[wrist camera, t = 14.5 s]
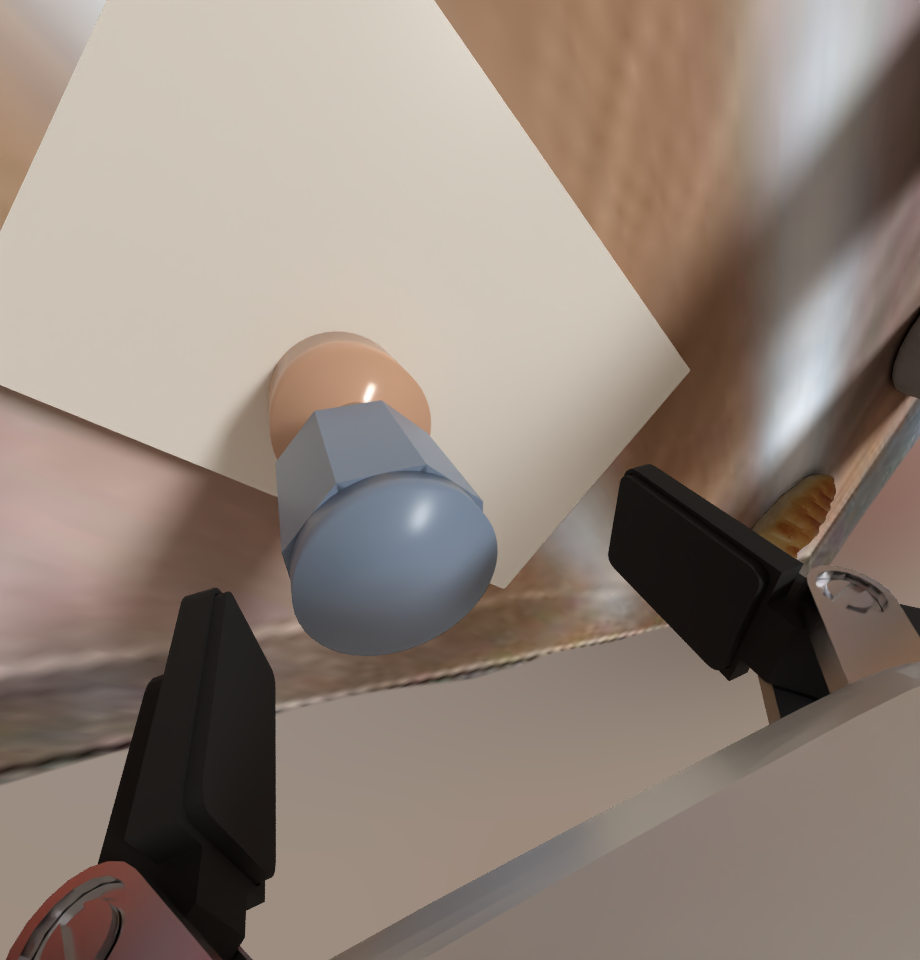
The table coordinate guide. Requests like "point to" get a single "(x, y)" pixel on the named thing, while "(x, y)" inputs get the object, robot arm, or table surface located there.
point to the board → (320, 249)
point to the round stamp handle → (338, 383)
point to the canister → (908, 363)
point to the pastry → (798, 514)
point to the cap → (378, 532)
